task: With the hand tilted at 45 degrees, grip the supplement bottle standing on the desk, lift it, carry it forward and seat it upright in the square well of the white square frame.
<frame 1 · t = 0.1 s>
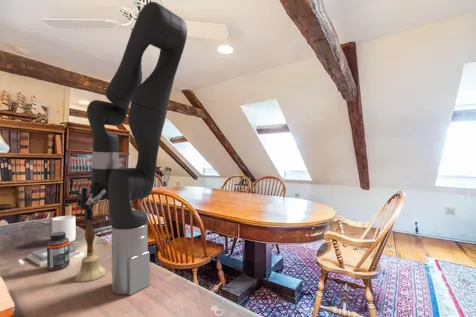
hand: (103, 218, 75), 17 cm above the table, tool pointing down, fingers open, 8 cm apart
supplement bottle: (58, 267, 80), on the table
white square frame: (54, 256, 89), on the table
hand bell: (90, 276, 74), on the table
mug: (62, 241, 105), on the table
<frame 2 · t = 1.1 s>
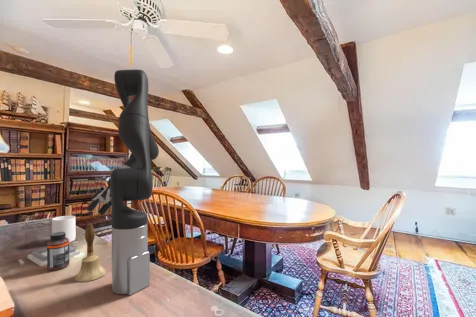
hand: (94, 212, 89), 16 cm above the table, tool tilted 45°, fingers open, 8 cm apart
nothing on the table moved.
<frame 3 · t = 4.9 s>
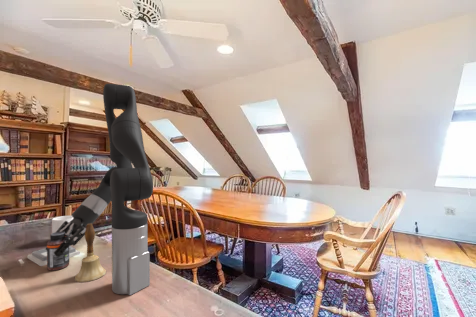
hand: (52, 252, 78), 5 cm above the table, tool tilted 45°, fingers closed on supplement bottle, 6 cm apart
supplement bottle: (58, 267, 80), on the table, touching gripper
everything else where it was.
when the fingers open (8 cm above the table, at t = 9.6 s): supplement bottle drops 2 cm, resting on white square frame.
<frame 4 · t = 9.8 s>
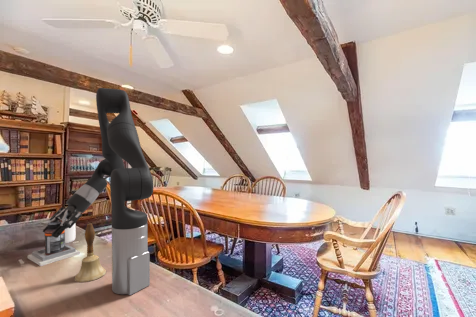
hand: (49, 234, 87), 8 cm above the table, tool tilted 45°, fingers open, 7 cm apart
supplement bottle: (55, 253, 89), point 1 cm above the table, touching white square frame
everything else where it was.
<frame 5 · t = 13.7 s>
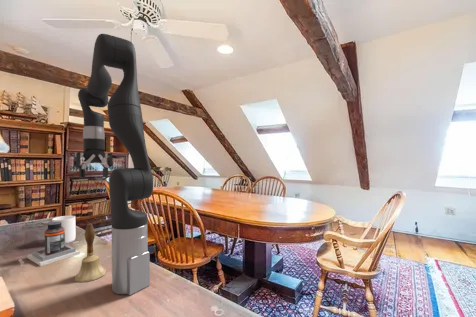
hand: (94, 177, 98), 28 cm above the table, tool pointing down, fingers open, 8 cm apart
nothing on the table moved.
at the end: supplement bottle 0.3 cm from the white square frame (horizontally); supplement bottle tilted 0°; the gripper is holding nothing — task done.
